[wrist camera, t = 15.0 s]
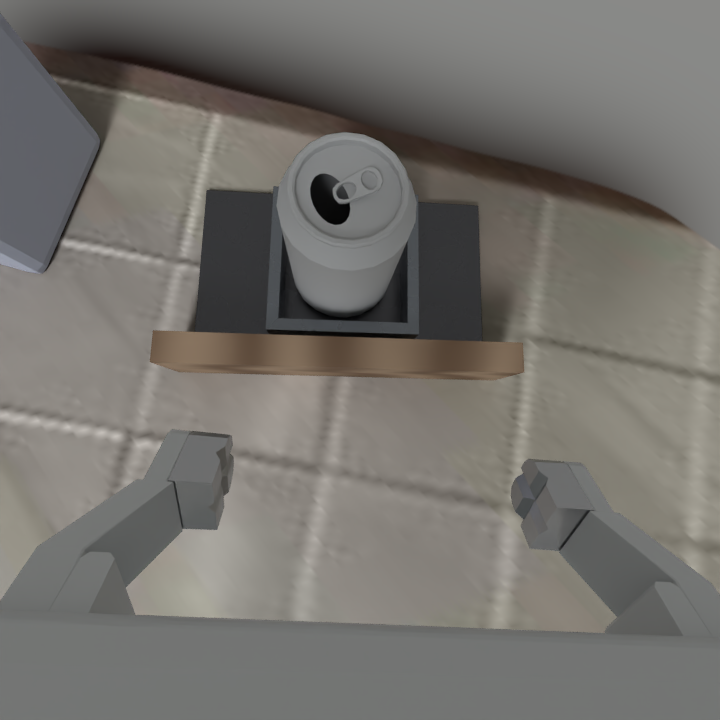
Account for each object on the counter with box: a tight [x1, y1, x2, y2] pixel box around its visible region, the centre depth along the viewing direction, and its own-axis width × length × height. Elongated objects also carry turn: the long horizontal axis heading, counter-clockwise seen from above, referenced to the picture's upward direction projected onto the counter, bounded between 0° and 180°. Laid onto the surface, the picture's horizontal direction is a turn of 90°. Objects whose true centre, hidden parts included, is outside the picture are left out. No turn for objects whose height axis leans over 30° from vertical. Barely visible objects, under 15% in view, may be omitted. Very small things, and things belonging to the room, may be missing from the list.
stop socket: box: [195, 186, 482, 341], centre depth 30 cm, size 22×12×3 cm, turn 89°
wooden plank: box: [150, 331, 524, 380], centre depth 28 cm, size 24×2×5 cm, turn 89°
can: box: [277, 132, 417, 318], centre depth 26 cm, size 8×8×12 cm
